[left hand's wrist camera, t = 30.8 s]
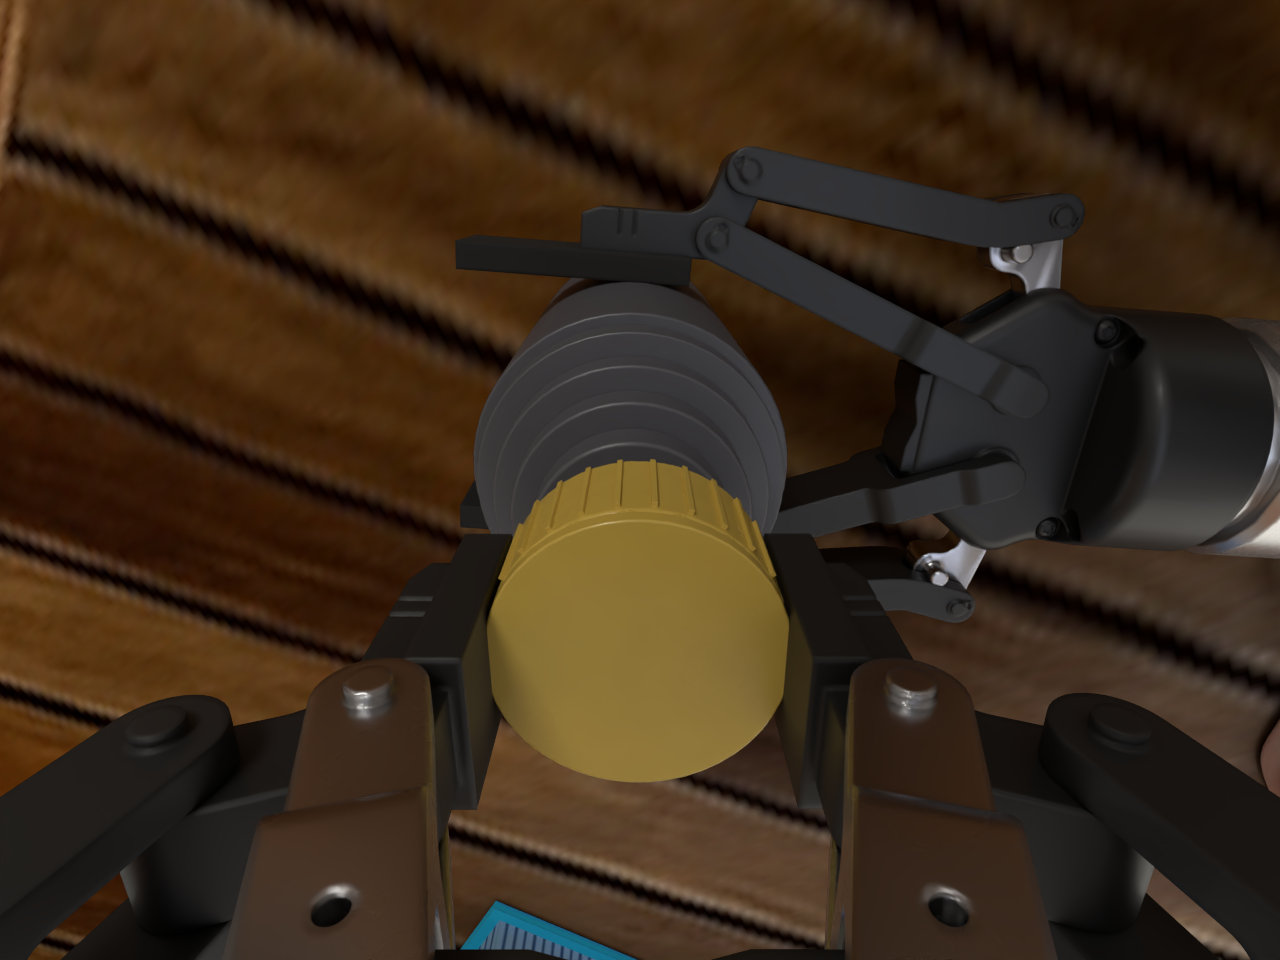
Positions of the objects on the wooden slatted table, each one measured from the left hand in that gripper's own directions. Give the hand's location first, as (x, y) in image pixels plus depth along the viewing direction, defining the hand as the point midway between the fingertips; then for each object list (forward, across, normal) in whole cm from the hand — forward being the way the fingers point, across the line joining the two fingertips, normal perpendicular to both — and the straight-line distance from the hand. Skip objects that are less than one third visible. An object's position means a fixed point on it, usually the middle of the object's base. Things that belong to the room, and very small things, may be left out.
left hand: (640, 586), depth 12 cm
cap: (-2, 0, 0) cm, 2 cm away
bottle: (+19, 0, 0) cm, 19 cm away
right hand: (+12, -5, 0) cm, 13 cm away
